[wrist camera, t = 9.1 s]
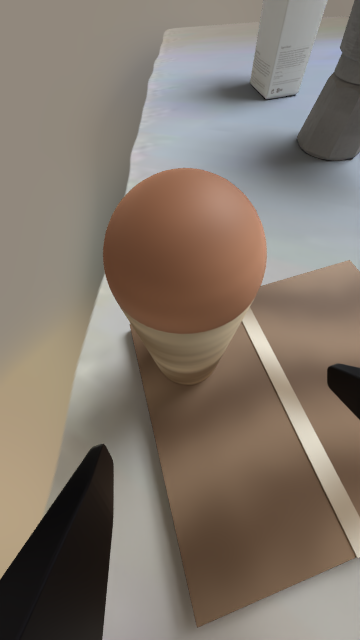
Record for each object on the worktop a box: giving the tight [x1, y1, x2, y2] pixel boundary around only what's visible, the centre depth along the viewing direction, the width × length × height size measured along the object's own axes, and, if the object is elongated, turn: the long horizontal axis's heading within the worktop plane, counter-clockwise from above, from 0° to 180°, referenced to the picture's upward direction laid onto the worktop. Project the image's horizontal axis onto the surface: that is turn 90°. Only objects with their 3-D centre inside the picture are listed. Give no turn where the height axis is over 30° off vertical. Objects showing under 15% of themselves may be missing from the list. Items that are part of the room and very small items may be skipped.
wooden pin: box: [103, 168, 267, 385], centre depth 11 cm, size 5×5×14 cm
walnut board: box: [130, 260, 360, 628], centre depth 16 cm, size 18×22×1 cm
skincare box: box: [250, 0, 327, 99], centre depth 32 cm, size 8×7×16 cm
